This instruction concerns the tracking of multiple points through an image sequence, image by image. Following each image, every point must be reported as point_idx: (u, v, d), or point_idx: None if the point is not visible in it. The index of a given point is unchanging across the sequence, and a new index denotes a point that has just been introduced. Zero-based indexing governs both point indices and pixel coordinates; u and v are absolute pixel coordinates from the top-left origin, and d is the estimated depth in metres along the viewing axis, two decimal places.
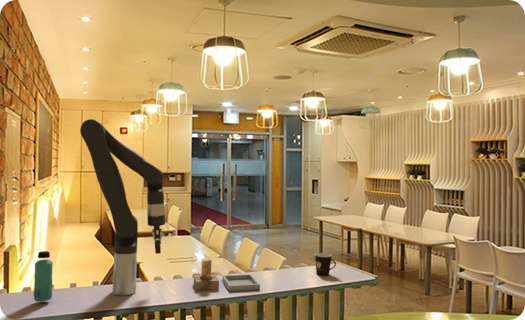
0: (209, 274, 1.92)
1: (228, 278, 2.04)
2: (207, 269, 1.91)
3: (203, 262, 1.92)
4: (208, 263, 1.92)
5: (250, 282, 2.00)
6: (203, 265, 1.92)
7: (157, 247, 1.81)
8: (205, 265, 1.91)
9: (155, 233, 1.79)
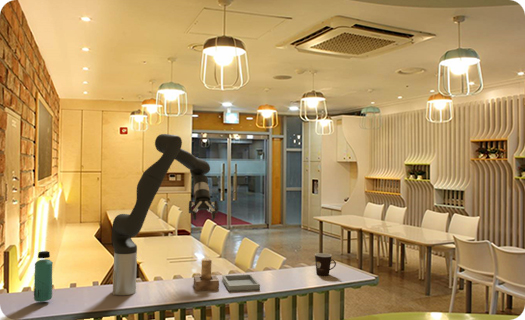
0: (209, 274, 1.92)
1: (228, 278, 2.04)
2: (207, 269, 1.91)
3: (203, 262, 1.92)
4: (208, 263, 1.92)
5: (250, 282, 2.00)
6: (203, 265, 1.92)
7: None
8: (205, 265, 1.91)
9: None
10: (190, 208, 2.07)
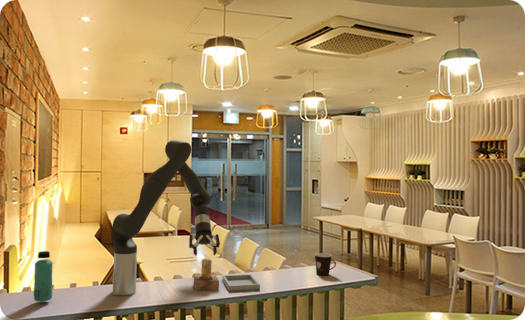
0: (209, 274, 1.92)
1: (228, 278, 2.04)
2: (207, 269, 1.91)
3: (203, 262, 1.92)
4: (208, 263, 1.92)
5: (250, 282, 2.00)
6: (203, 265, 1.92)
7: None
8: (205, 265, 1.91)
9: (218, 237, 2.05)
10: (191, 243, 1.99)
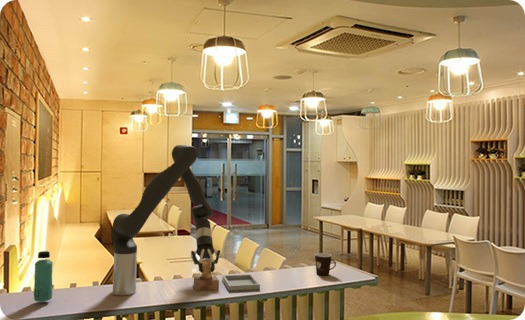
0: (209, 274, 1.92)
1: (228, 278, 2.04)
2: (207, 269, 1.91)
3: (203, 262, 1.92)
4: (208, 263, 1.92)
5: (250, 282, 2.00)
6: (203, 265, 1.92)
7: None
8: (205, 265, 1.91)
9: (219, 253, 1.99)
10: (196, 259, 1.93)
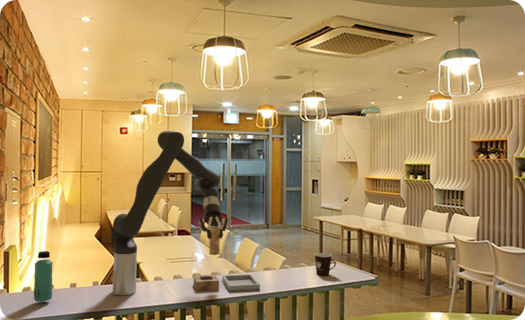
0: (217, 241, 1.93)
1: (228, 278, 2.04)
2: (215, 236, 1.93)
3: (211, 229, 1.93)
4: (216, 230, 1.93)
5: (250, 282, 2.00)
6: (211, 232, 1.93)
7: None
8: (214, 231, 1.92)
9: None
10: (204, 226, 1.94)
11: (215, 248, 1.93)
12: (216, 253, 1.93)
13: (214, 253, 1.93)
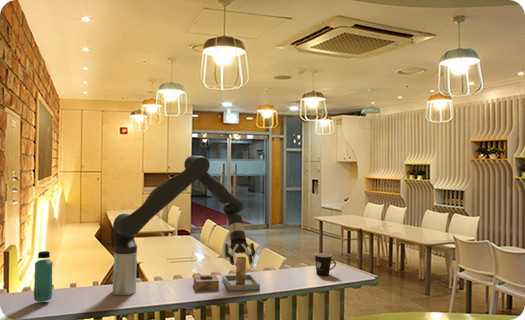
0: (244, 271, 1.96)
1: (228, 278, 2.04)
2: (242, 266, 1.96)
3: (238, 259, 1.96)
4: (243, 260, 1.96)
5: (250, 282, 2.00)
6: (238, 262, 1.96)
7: None
8: (240, 262, 1.96)
9: None
10: (227, 252, 1.98)
11: (242, 278, 1.96)
12: (242, 283, 1.96)
13: (241, 283, 1.96)
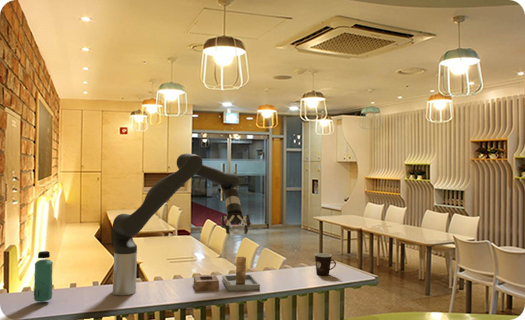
0: (244, 271, 1.96)
1: (228, 278, 2.04)
2: (242, 266, 1.96)
3: (238, 259, 1.96)
4: (243, 261, 1.96)
5: (250, 282, 2.00)
6: (238, 262, 1.96)
7: None
8: (240, 262, 1.96)
9: None
10: (223, 222, 2.09)
11: (242, 278, 1.96)
12: (242, 283, 1.96)
13: (241, 283, 1.96)
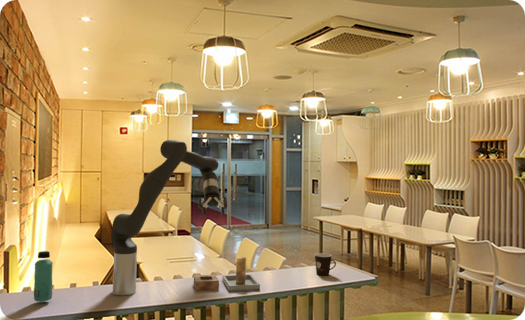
0: (244, 271, 1.96)
1: (228, 278, 2.04)
2: (242, 266, 1.96)
3: (238, 259, 1.96)
4: (243, 260, 1.96)
5: (250, 282, 2.00)
6: (238, 262, 1.96)
7: None
8: (240, 262, 1.96)
9: None
10: (200, 204, 2.10)
11: (242, 278, 1.96)
12: (242, 283, 1.96)
13: (241, 283, 1.96)
